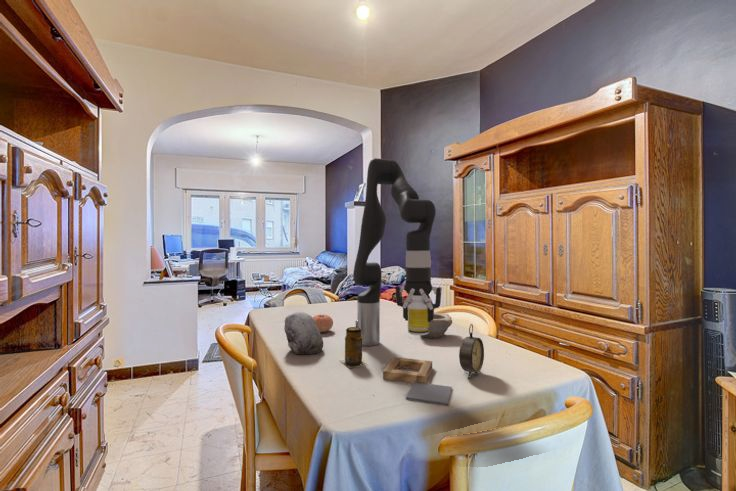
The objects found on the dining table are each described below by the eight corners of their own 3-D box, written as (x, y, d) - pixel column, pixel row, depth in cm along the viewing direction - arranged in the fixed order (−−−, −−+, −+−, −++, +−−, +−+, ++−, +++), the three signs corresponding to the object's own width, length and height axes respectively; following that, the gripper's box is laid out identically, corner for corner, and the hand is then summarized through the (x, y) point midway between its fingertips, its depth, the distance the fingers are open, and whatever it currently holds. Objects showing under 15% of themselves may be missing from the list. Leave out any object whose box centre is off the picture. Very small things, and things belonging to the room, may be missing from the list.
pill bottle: (428, 336, 107) (428, 296, 107) (406, 335, 108) (406, 296, 108) (429, 331, 113) (429, 293, 113) (408, 330, 114) (408, 293, 114)
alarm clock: (472, 381, 112) (473, 328, 111) (455, 377, 115) (456, 326, 114) (485, 371, 120) (485, 322, 120) (469, 367, 123) (469, 319, 123)
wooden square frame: (383, 378, 114) (383, 371, 113) (394, 363, 127) (394, 356, 127) (424, 384, 109) (424, 376, 109) (432, 368, 123) (432, 361, 122)
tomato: (331, 334, 164) (331, 317, 164) (307, 334, 164) (307, 317, 164) (334, 328, 175) (334, 312, 174) (311, 328, 175) (311, 311, 175)
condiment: (358, 358, 133) (358, 325, 132) (368, 365, 125) (368, 330, 125) (339, 361, 130) (339, 327, 129) (349, 369, 122) (349, 333, 122)
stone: (324, 355, 136) (324, 315, 136) (284, 357, 133) (283, 316, 133) (321, 345, 148) (321, 308, 148) (284, 347, 145) (284, 309, 145)
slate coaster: (406, 399, 99) (406, 397, 99) (414, 383, 110) (414, 381, 110) (447, 405, 96) (447, 403, 96) (451, 388, 106) (451, 386, 106)
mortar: (449, 331, 169) (450, 312, 169) (452, 342, 153) (452, 320, 152) (413, 330, 172) (413, 310, 172) (412, 340, 155) (412, 318, 155)
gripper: (391, 266, 109) (392, 322, 109) (440, 266, 104) (440, 325, 105) (398, 264, 116) (398, 317, 116) (443, 265, 112) (444, 319, 112)
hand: (418, 320), depth 110 cm, fingers closed on pill bottle, 6 cm apart
